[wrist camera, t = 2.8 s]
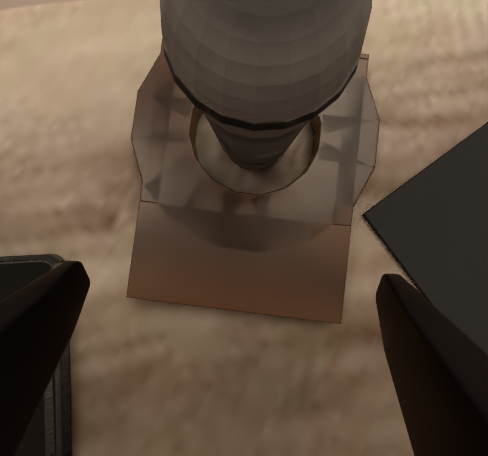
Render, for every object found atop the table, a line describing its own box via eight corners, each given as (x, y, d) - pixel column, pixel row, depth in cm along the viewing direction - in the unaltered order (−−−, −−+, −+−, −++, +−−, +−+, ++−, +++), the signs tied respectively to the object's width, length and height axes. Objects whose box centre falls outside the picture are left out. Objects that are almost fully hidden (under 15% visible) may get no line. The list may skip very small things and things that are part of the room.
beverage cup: (280, 204, 22) (567, -126, 2) (188, 164, 23) (-258, -446, 3) (320, 113, 23) (862, -846, 3) (228, 75, 23) (107, -1083, 3)
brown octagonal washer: (349, 318, 22) (359, 326, 20) (120, 290, 22) (108, 294, 20) (377, 44, 23) (389, 25, 21) (158, 19, 23) (150, -2, 21)
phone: (-56, 489, 20) (-57, 259, 21) (-41, 476, 21) (-42, 258, 22) (64, 483, 20) (58, 253, 21) (73, 471, 21) (68, 253, 22)
